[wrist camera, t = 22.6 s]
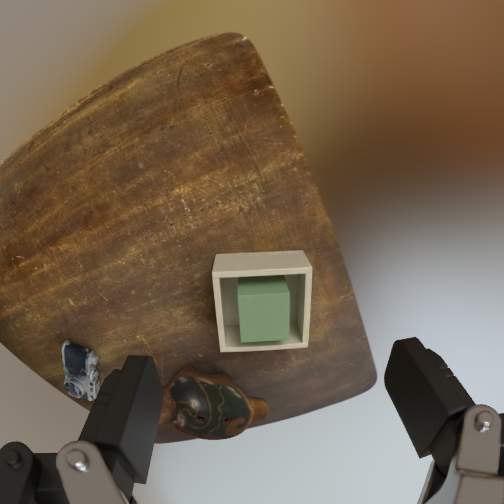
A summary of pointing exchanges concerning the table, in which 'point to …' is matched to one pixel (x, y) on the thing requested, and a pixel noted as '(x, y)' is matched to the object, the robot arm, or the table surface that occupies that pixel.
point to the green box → (263, 308)
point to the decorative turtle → (209, 405)
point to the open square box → (262, 264)
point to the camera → (80, 371)
